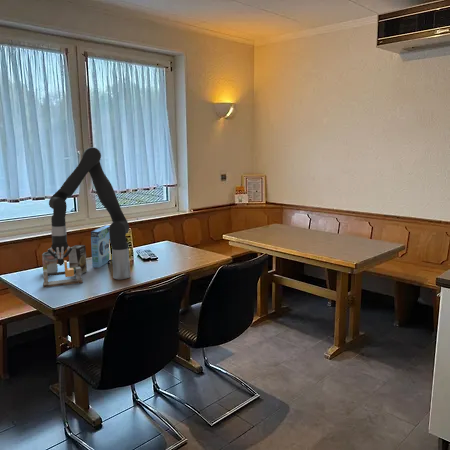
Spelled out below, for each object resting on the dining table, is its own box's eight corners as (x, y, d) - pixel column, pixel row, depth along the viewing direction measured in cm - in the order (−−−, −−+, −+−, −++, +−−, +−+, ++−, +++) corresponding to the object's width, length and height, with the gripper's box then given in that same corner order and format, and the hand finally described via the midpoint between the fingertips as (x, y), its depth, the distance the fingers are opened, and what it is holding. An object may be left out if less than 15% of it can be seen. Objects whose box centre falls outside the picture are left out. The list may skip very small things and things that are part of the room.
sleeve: (73, 274, 243) (72, 259, 241) (74, 276, 239) (73, 261, 238) (65, 275, 241) (64, 260, 239) (65, 277, 237) (64, 262, 236)
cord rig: (81, 279, 246) (80, 265, 244) (82, 282, 241) (81, 268, 239) (43, 284, 238) (42, 269, 237) (43, 287, 233) (42, 272, 231)
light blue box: (106, 259, 288) (104, 225, 283) (113, 259, 287) (111, 225, 283) (92, 267, 269) (89, 231, 265) (99, 268, 268) (97, 231, 264)
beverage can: (61, 272, 259) (60, 253, 257) (47, 275, 253) (46, 255, 251) (54, 269, 265) (52, 250, 263) (40, 272, 259) (38, 252, 257)
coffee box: (79, 275, 253) (77, 248, 250) (69, 274, 255) (67, 248, 252) (87, 271, 262) (85, 245, 259) (77, 270, 263) (75, 244, 260)
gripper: (71, 231, 240) (73, 262, 243) (45, 233, 235) (47, 264, 238) (72, 234, 233) (74, 265, 236) (46, 236, 228) (47, 268, 231)
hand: (60, 265), depth 237 cm, fingers closed
